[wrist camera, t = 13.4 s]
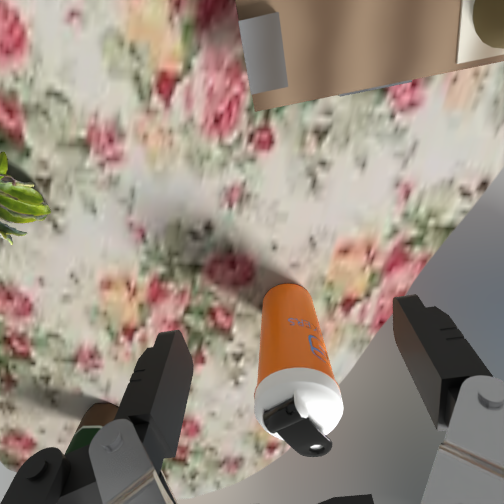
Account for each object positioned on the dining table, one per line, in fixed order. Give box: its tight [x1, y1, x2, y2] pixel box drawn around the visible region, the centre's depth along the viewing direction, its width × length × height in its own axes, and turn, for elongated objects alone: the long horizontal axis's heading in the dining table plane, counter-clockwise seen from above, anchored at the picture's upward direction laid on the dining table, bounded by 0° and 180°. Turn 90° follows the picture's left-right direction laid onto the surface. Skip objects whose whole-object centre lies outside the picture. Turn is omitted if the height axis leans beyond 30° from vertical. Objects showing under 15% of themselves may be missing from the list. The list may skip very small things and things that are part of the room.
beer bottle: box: [65, 403, 119, 454], centre depth 52 cm, size 8×8×24 cm
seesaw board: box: [235, 0, 504, 112], centre depth 26 cm, size 24×8×3 cm, turn 101°
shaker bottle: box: [254, 284, 344, 457], centre depth 40 cm, size 9×9×20 cm
